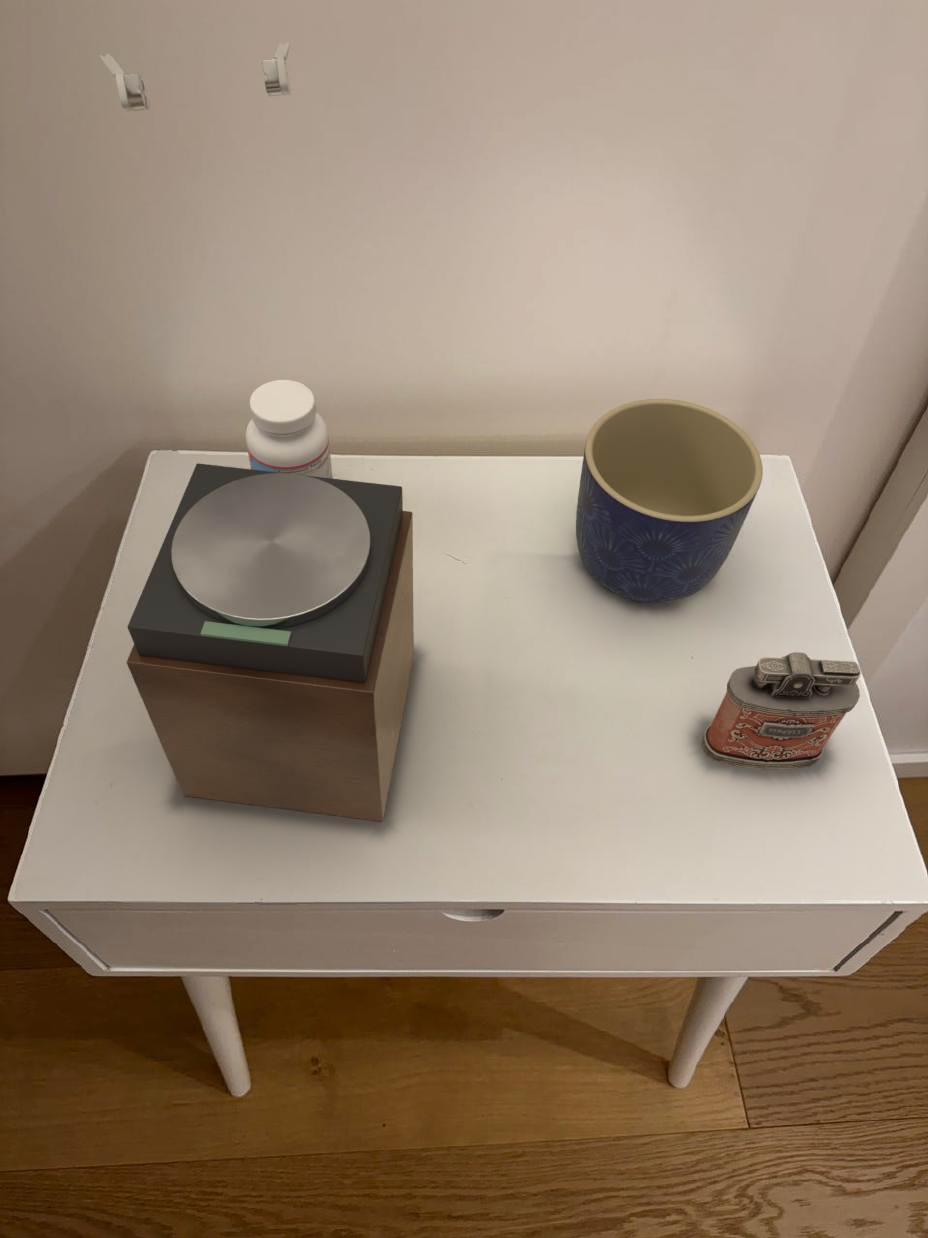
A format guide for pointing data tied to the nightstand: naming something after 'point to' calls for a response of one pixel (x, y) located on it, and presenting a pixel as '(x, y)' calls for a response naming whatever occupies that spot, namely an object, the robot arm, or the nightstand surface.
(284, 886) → the nightstand surface
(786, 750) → the lighter
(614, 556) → the planter
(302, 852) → the nightstand surface
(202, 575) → the kitchen scale
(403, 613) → the walnut riser
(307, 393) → the pill bottle
